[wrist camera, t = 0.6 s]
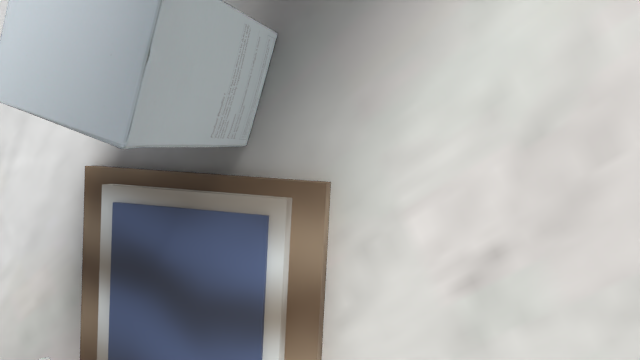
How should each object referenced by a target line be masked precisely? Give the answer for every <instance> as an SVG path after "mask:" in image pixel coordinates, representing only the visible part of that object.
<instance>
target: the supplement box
mask: <svg viewBox="0 0 640 360" xmlns="http://www.w3.org/2000/svg"><path fill="white" fill-rule="evenodd" d="M276 38H277V33H276V32H275V31H273V30H272V29H270V28H268V27H266V26H265V25H263V24H261V23H259V22H258V21H256V20H254V19H253V18H251V17H249V16H247V15H246V14H244V13H242V12H240V11H239V10H237V9H235V8H234V7H232V6H230V5H228V4H227V3H225V2H223V1H222V0H9V2H8V6H7V11H6V15H5V20H4V25H3V29H2V34H1V38H0V103H3V104H6V105H9V106H11V107H14V108H17V109H19V110H22V111H25V112H27V113H30V114H33V115H35V116H38V117H40V118H43V119H46V120H48V121H51V122H53V123H56V124H58V125H61V126H64V127H66V128H69V129H71V130H74V131H77V132H79V133H82V134H84V135H87V136H90V137H92V138H95V139H98V140H100V141H103V142H105V143H108V144H111V145H113V146H116V147H118V148H121V149H130V148H144V147H238V146H246V145H247V142H248V138H249V135H250V132H251V128H252V125H253V121H254V118H255V114H256V110H257V107H258V103H259V100H260V96H261V92H262V89H263V85H264V82H265V78H266V74H267V71H268V67H269V64H270V60H271V56H272V53H273V49H274V45H275V42H276Z"/></svg>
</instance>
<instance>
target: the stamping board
mask: <svg viewBox="0 0 640 360" xmlns="http://www.w3.org/2000/svg"><path fill="white" fill-rule="evenodd" d="M330 187H331V182H321V181H307V180H293V179H278V178H264V177H250V176H235V175H221V174H206V173H192V172H178V171H163V170H149V169H135V168H120V167H106V166H85V190H84V228H83V265H82V303H81V340H80V360H321V356H322V337H323V318H324V299H325V281H326V262H327V243H328V224H329V206H330Z"/></svg>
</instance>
